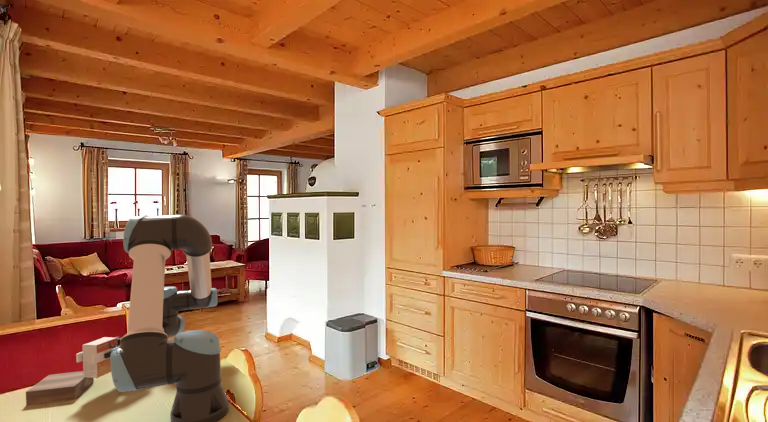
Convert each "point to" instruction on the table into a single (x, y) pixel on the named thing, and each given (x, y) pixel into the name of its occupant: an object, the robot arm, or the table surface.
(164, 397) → the table surface
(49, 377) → the walnut riser
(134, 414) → the table surface
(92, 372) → the small box
